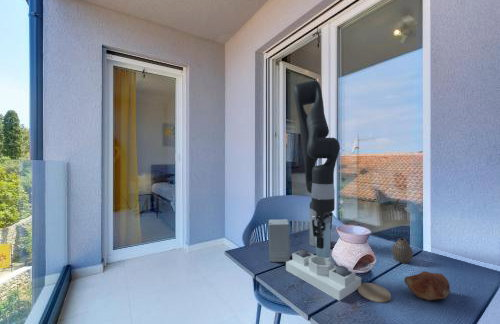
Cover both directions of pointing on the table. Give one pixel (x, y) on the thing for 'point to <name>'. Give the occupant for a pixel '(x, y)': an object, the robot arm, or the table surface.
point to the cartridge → (325, 242)
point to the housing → (323, 275)
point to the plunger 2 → (342, 271)
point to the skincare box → (279, 240)
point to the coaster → (374, 292)
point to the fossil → (428, 285)
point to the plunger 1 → (303, 253)
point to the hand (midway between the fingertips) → (322, 245)
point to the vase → (402, 251)
